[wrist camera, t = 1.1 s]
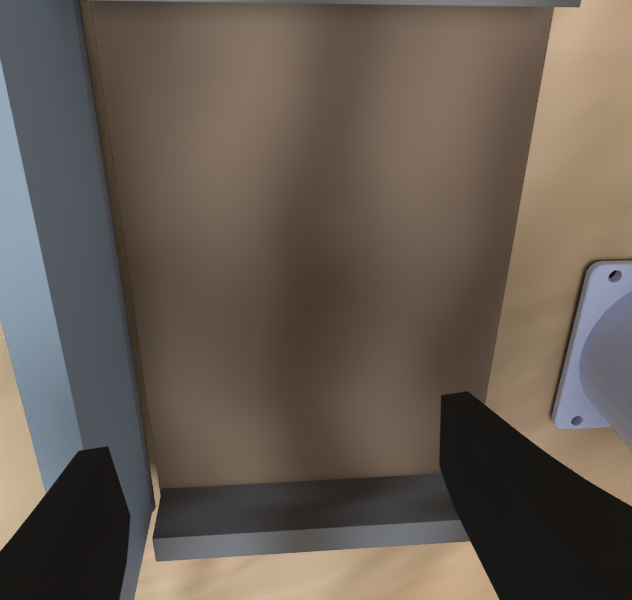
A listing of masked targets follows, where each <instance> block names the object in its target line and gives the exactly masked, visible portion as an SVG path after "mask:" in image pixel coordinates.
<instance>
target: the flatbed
mask: <svg viewBox="0 0 632 600" xmlns="http://www.w3.org/2000/svg"><path fill="white" fill-rule="evenodd" d="M580 3H581V0H90V4H91V11H92V18H93V25H94V32H95V39H96V46H97V53H98V60H99V67H100V74H101V81H102V88H103V95H104V102H105V109H106V116H107V123H108V130H109V137H110V144H111V151H112V158H113V165H114V172H115V179H116V186H117V193H118V200H119V207H120V214H121V221H122V228H123V235H124V242H125V249H126V256H127V263H128V270H129V277H130V284H131V291H132V298H133V305H134V312H135V319H136V326H137V333H138V340H139V347H140V354H141V361H142V368H143V375H144V382H145V389H146V396H147V403H148V410H149V417H150V424H151V431H152V438H153V445H154V452H155V459H156V466H157V473H158V480H159V487H160V494H161V498H160V503H159V508H158V513H157V518H156V523H155V528H154V533H153V546H154V552H155V558H156V562H157V561H172V560H188V559H203V558H219V557H234V556H250V555H265V554H280V553H296V552H311V551H327V550H342V549H358V548H373V547H388V546H404V545H419V544H435V543H450V542H466V541H470V539H469V537H468V535H467V533H466V531H465V529H464V527H463V525H462V523H461V521H460V519H459V517H458V515H457V513H456V510H455V508H454V506H453V503H452V501H451V498H450V495H449V492H448V490H447V487H446V484H445V481H444V478H443V475H442V472H441V469H440V466H439V450H440V413H441V395H446V394H452V393H459V392H465V391H468V392H470V393H471V394H472V395H473V396H475V397H476V398H477V399H478V400H480V401H481V402H482V403H483V404H484V405H485V400H486V394H487V388H488V382H489V377H490V371H491V365H492V360H493V354H494V348H495V342H496V337H497V331H498V325H499V319H500V314H501V308H502V302H503V297H504V291H505V285H506V279H507V274H508V268H509V262H510V256H511V251H512V245H513V239H514V234H515V228H516V222H517V216H518V211H519V205H520V199H521V193H522V188H523V182H524V176H525V171H526V165H527V159H528V153H529V148H530V142H531V136H532V130H533V125H534V119H535V113H536V108H537V102H538V96H539V90H540V85H541V79H542V73H543V67H544V62H545V56H546V50H547V45H548V39H549V33H550V27H551V22H552V16H553V10H554V7H580Z"/></svg>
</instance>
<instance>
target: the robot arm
mask: <svg viewBox="0 0 632 600" xmlns="http://www.w3.org/2000/svg"><path fill="white" fill-rule="evenodd" d="M615 270H616V273H615V275H614V276H613V277H611V278H609V275H610V273H611V272H613V271H615ZM576 416H577V418H575V419H573V418H574V417H576ZM572 419H573V420H572ZM552 422H553V424H554V425H555V426H556V428H558V429H562V430H566V429H586V428H607V427H612V428H613V429H614V430H615V432H616V433H617V434H618V435H619V436H620V438H621V439H622V440H623V441H624V442H625V444H626V445H627V446H628V447H629V448H630V450H631V451H632V260H630V261H600V262H596V263H594V264H592V265H591V266H590V267H589V268H588V270H587V272H586V276H585V280H584V284H583V288H582V292H581V296H580V300H579V305H578V309H577V313H576V317H575V321H574V325H573V330H572V334H571V338H570V342H569V346H568V350H567V355H566V359H565V363H564V367H563V371H562V375H561V380H560V384H559V388H558V392H557V396H556V400H555V404H554V409H553V413H552ZM439 466H440V469H441V472H442V475H443V478H444V481H445V484H446V487H447V490H448V492H449V495H450V498H451V501H452V503H453V506H454V508H455V510H456V513H457V515H458V517H459V519H460V521H461V523H462V525H463V527H464V529H465V531H466V533H467V535H468V537H469V539H470V541H471V543H472V545H473V547H474V549H475V551H476V553H477V555H478V557H479V559H480V561H481V563H482V565H483V567H484V569H485V571H486V573H487V575H488V577H489V579H490V581H491V583H492V585H493V587H494V589H495V591H496V593H497V595H498V598H499V600H632V506H630V505H628V504H627V503H625V502H623V501H621V500H620V499H618V498H616V497H614V496H613V495H611V494H609V493H608V492H606V491H604V490H602V489H601V488H599V487H597V486H596V485H594V484H592V483H591V482H589V481H587V480H586V479H584V478H583V477H581V476H580V475H578V474H577V473H575V472H574V471H572V470H571V469H569V468H568V467H566V466H565V465H563V464H562V463H560V462H559V461H557V460H556V459H554V458H553V457H552V456H550V455H549V454H547V453H546V452H545V451H543V450H542V449H541V448H539V447H538V446H537V445H535V444H534V443H533V442H531V441H530V440H529V439H527V438H526V437H525V436H523V435H522V434H521V433H519V432H518V431H517V430H516V429H514V428H513V427H512V426H510V425H509V424H508V423H507V422H505V421H504V420H503V419H502V418H500V417H499V416H498V415H497V414H496V413H494V412H493V411H492V410H491V409H489V408H488V407H487V406H486V405H484V404H483V403H482V402H481V401H480V400H478V399H477V398H476V397H475V396H473V395H472V394H471V393H470V392H468V391H465V392H459V393H452V394H446V395H441V413H440V450H439ZM129 530H130V512H129V509H128V506H127V503H126V500H125V497H124V494H123V491H122V488H121V484H120V481H119V478H118V475H117V472H116V469H115V466H114V463H113V460H112V456H111V453H110V450H109V447H108V446H106V447H100V448H93V449H87V450H80V451H78V452H77V453H76V455H75V456H74V457H73V458H72V460H71V461H70V462H69V464H68V465H67V466H66V468H65V469H64V470H63V472H62V473H61V474H60V476H59V477H58V478H57V480H56V481H55V482H54V484H53V485H52V486H51V488H50V489H49V490H48V492H47V493H46V494H45V496H44V497H43V498H42V500H41V501H40V502H39V504H38V505H37V506H36V508H35V509H34V510H33V511H32V513H31V514H30V515H29V516H28V518H27V519H26V520H25V522H24V523H23V524H22V525H21V527H20V528H19V529H18V530H17V532H16V533H15V534H14V535H13V537H12V538H11V539H10V540H9V542H8V543H7V544H6V545H5V546H4V547H3V549H2V550H1V551H0V600H119V599H120V594H121V589H122V585H123V580H124V575H125V569H126V564H127V555H128V544H129Z"/></svg>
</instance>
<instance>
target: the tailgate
mask: <svg viewBox="0 0 632 600" xmlns="http://www.w3.org/2000/svg"><path fill="white" fill-rule="evenodd" d="M0 320H1V323H2V327H3V331H4V335H5V339H6V343H7V346H8V350H9V354H10V358H11V362H12V366H13V369H14V373H15V377H16V381H17V385H18V389H19V393H20V396H21V400H22V404H23V408H24V412H25V416H26V419H27V423H28V427H29V431H30V435H31V439H32V442H33V446H34V450H35V454H36V458H37V462H38V465H39V469H40V473H41V477H42V481H43V485H44V488H45V492H46V493H47V492H48V490H49V489H50V488H51V486H52V485H53V484H54V482H55V481H56V480H57V478H58V477H59V476H60V474H61V473H62V472H63V470H64V469H65V468H66V466H67V465H68V464H69V462H70V461H71V460H72V458H73V457H74V456H75V455H76V453H77V452H78V451H80V450H87V449H93V448H100V447H106V446H108V447H109V450H110V453H111V456H112V460H113V463H114V466H115V469H116V472H117V475H118V478H119V481H120V484H121V488H122V491H123V494H124V497H125V500H126V503H127V506H128V509H129V512H130V530H129V544H128V555H127V564H126V569H125V575H124V580H123V585H122V589H121V594H120V599H119V600H134V597H135V592H136V587H137V582H138V577H139V573H140V568H141V563H142V558H143V553H144V548H145V544H146V539H147V534H148V529H149V524H150V519H151V515H152V512H153V511H154V510H155V507H156V506H155V499H154V492H153V486H152V479H151V472H150V466H149V459H148V452H147V446H146V439H145V432H144V426H143V419H142V412H141V406H140V399H139V392H138V386H137V379H136V372H135V366H134V359H133V352H132V345H131V339H130V332H129V325H128V319H127V312H126V305H125V299H124V292H123V285H122V279H121V272H120V265H119V259H118V252H117V245H116V239H115V232H114V225H113V219H112V212H111V205H110V199H109V192H108V185H107V179H106V172H105V165H104V158H103V152H102V145H101V138H100V132H99V125H98V118H97V112H96V105H95V98H94V92H93V85H92V78H91V72H90V65H89V58H88V52H87V45H86V38H85V32H84V25H83V18H82V12H81V5H80V0H0Z"/></svg>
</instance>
